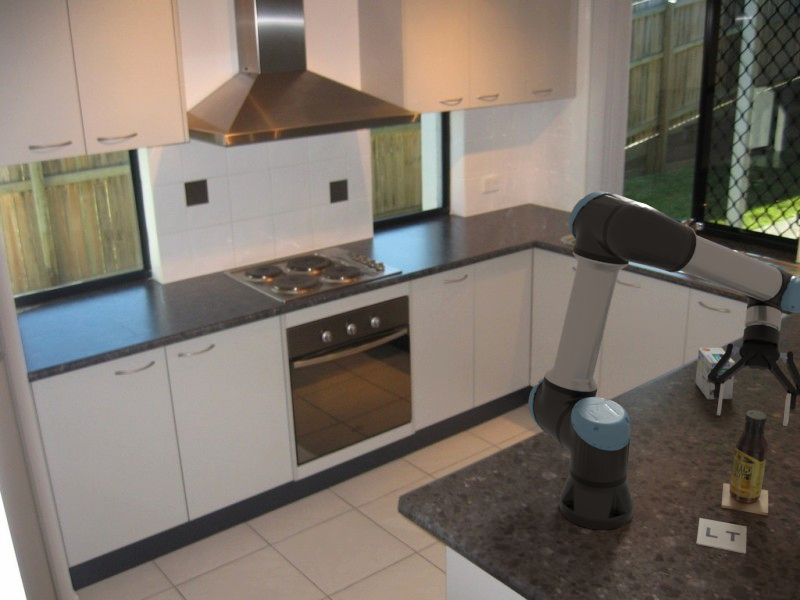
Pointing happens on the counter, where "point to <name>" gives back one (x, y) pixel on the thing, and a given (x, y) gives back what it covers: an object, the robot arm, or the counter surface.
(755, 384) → the counter surface
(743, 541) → the tile
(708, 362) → the light bulb box
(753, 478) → the sauce bottle
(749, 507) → the coaster
